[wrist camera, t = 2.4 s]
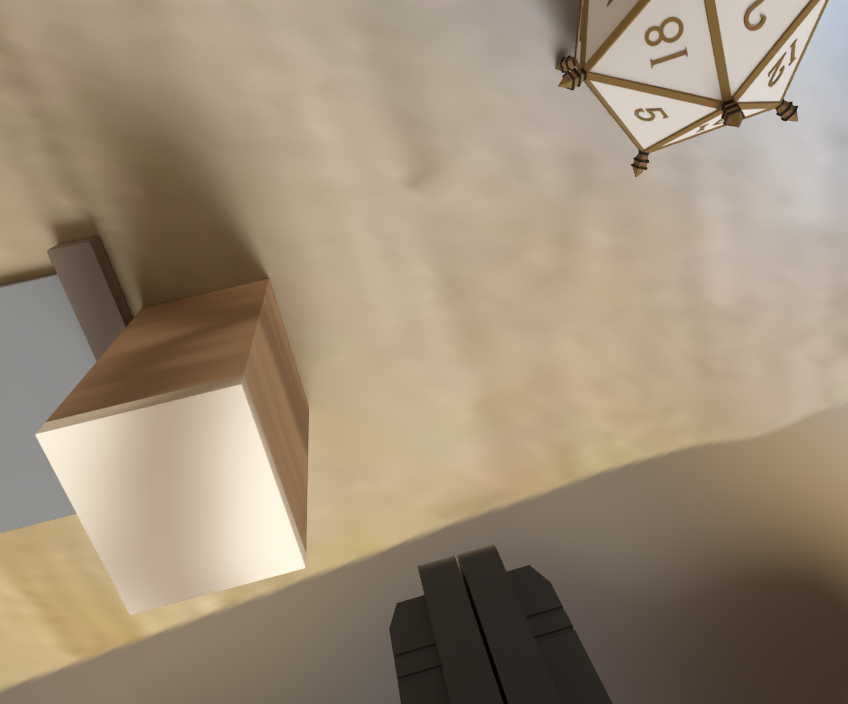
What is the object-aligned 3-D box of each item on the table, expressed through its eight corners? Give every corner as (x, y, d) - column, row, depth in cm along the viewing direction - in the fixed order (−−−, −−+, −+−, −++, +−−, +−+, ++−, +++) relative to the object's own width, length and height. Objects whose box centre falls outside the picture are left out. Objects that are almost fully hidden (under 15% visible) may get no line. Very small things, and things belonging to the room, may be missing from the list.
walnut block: (269, 278, 24) (241, 384, 15) (308, 408, 26) (305, 567, 17) (142, 307, 24) (35, 434, 15) (194, 436, 26) (129, 615, 17)
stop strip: (98, 235, 22) (89, 241, 21) (206, 496, 27) (202, 509, 26) (57, 244, 22) (46, 250, 21) (172, 504, 27) (167, 518, 26)
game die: (545, 31, 26) (487, -157, 16) (764, -67, 23) (845, -362, 14) (602, 229, 25) (574, 152, 16) (836, 154, 22) (976, 2, 13)
